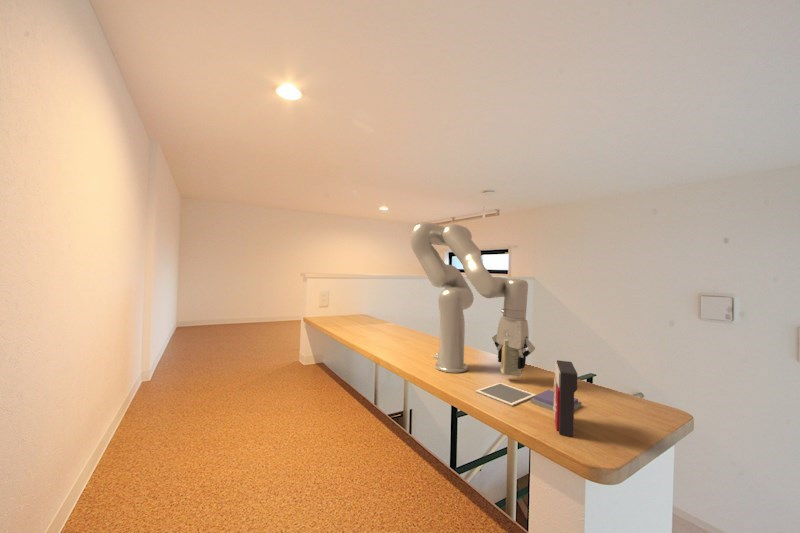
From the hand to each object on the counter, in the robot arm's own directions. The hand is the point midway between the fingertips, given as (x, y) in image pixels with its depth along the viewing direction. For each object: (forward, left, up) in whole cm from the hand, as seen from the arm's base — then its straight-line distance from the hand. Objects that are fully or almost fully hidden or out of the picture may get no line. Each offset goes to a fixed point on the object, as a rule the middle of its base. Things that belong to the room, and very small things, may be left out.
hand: (510, 364), depth 113 cm
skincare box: (0, 0, -3) cm, 3 cm away
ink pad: (+19, -7, -6) cm, 21 cm away
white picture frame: (+6, -12, -6) cm, 15 cm away
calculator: (+27, -18, -6) cm, 33 cm away
